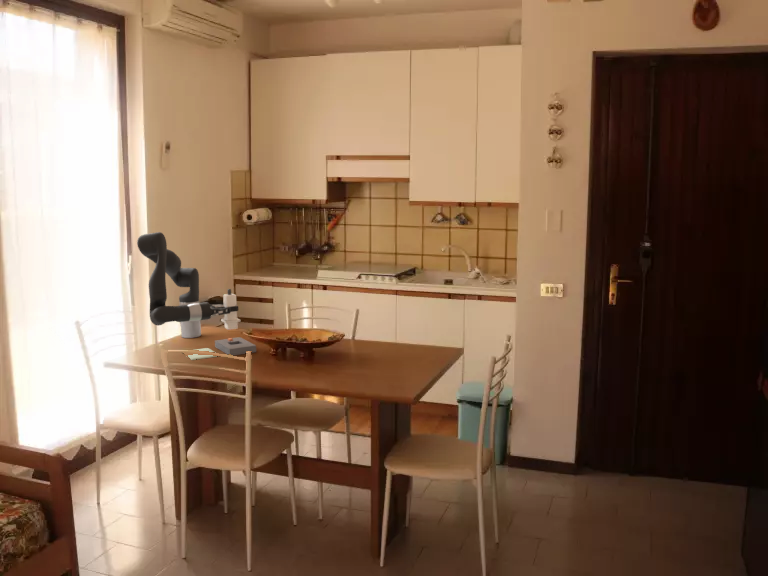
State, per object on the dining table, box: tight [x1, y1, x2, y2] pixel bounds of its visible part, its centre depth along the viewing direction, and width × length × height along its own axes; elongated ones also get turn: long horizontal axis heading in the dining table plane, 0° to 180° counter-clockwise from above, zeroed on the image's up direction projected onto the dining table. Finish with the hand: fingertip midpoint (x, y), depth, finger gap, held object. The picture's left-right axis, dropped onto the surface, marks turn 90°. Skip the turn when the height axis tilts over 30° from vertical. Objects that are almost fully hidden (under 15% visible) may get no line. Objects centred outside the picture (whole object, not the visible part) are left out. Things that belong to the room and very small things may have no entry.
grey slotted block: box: [214, 336, 257, 356], centre depth 346 cm, size 20×12×4 cm, turn 30°
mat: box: [187, 347, 217, 361], centre depth 338 cm, size 16×12×1 cm
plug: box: [220, 288, 241, 330], centre depth 343 cm, size 7×7×18 cm
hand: (235, 307), depth 344 cm, fingers closed on plug, 4 cm apart
